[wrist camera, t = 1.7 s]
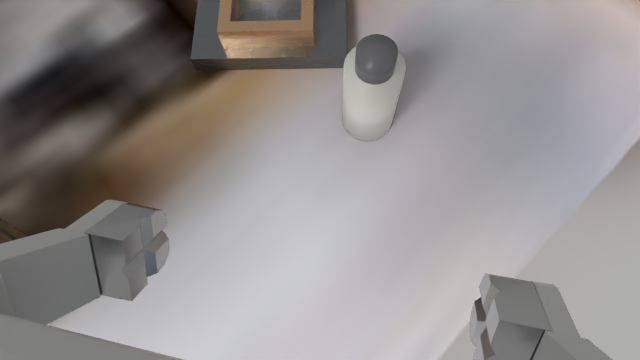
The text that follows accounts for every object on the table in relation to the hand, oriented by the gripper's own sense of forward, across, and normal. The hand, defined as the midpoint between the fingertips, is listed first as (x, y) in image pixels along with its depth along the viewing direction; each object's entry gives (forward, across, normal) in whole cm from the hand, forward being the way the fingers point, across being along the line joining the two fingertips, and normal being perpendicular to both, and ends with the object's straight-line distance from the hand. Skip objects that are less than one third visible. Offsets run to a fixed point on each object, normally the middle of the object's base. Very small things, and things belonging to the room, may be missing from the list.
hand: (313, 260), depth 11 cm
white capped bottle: (+32, -2, -6) cm, 33 cm away
